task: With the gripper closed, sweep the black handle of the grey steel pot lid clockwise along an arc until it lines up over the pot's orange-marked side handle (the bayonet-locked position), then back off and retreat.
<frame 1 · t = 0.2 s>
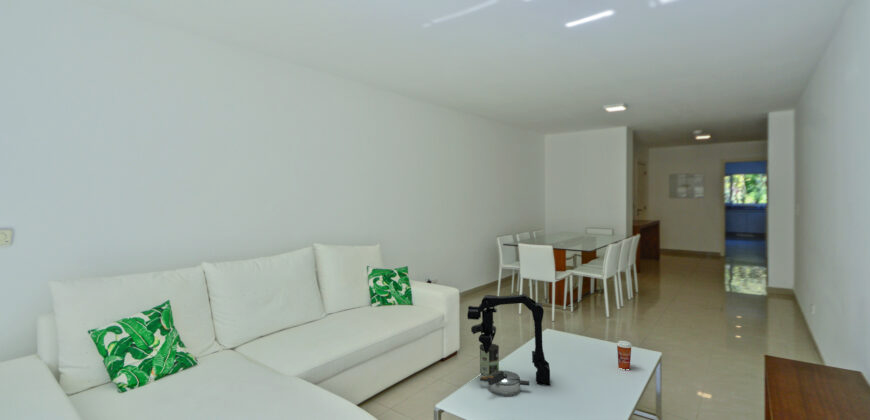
hand: (487, 350, 213), 14 cm above the table, fingers open, 9 cm apart
paper cup: (624, 368, 224), on the table
lid: (501, 375, 198), point 8 cm above the table, hinge at 60.0°
pot: (504, 389, 200), on the table
coffee can: (489, 372, 220), on the table
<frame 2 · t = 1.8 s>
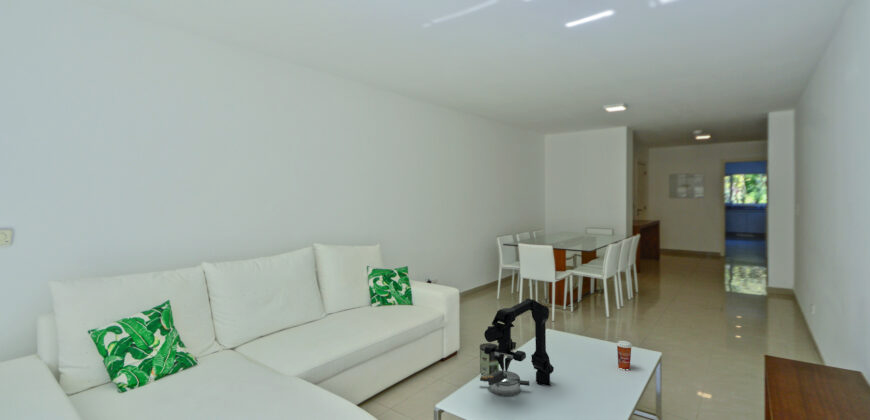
hand: (504, 370, 190), 13 cm above the table, fingers closed
nothing on the table moved.
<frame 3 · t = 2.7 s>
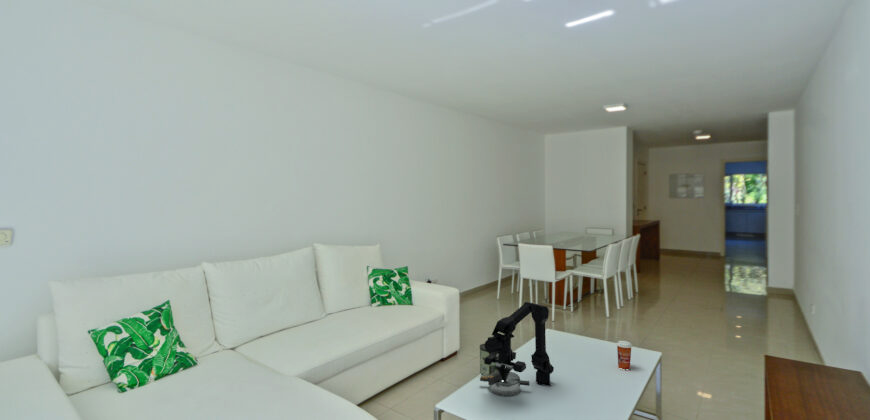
hand: (504, 381, 190), 8 cm above the table, fingers closed
nothing on the table moved.
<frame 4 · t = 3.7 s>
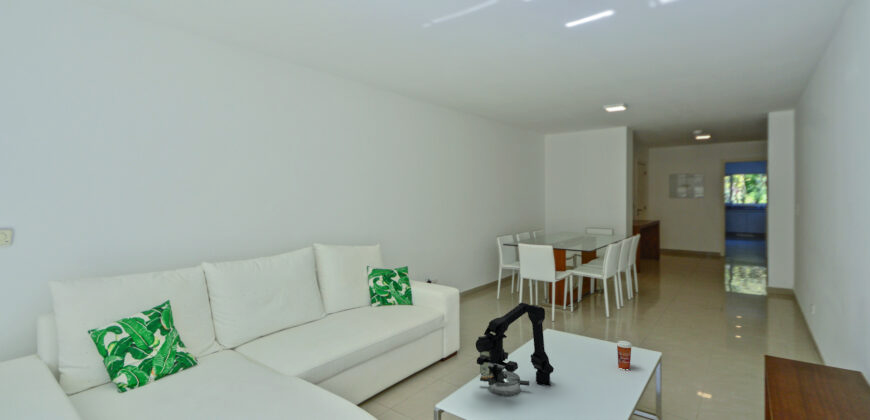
hand: (497, 381, 192), 8 cm above the table, fingers closed
lid: (501, 375, 198), point 8 cm above the table, hinge at 60.0°, touching gripper
everything else where it was.
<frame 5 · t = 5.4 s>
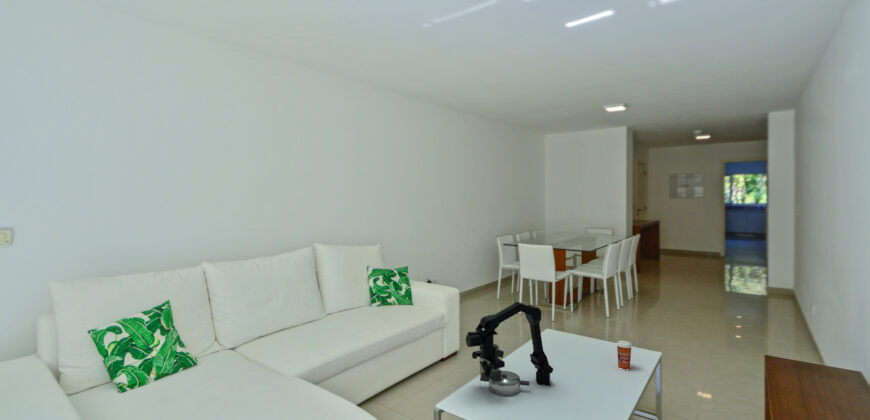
hand: (488, 377, 196), 8 cm above the table, fingers closed
lid: (500, 374, 199), point 8 cm above the table, hinge at 26.2°, touching gripper
everything else where it was.
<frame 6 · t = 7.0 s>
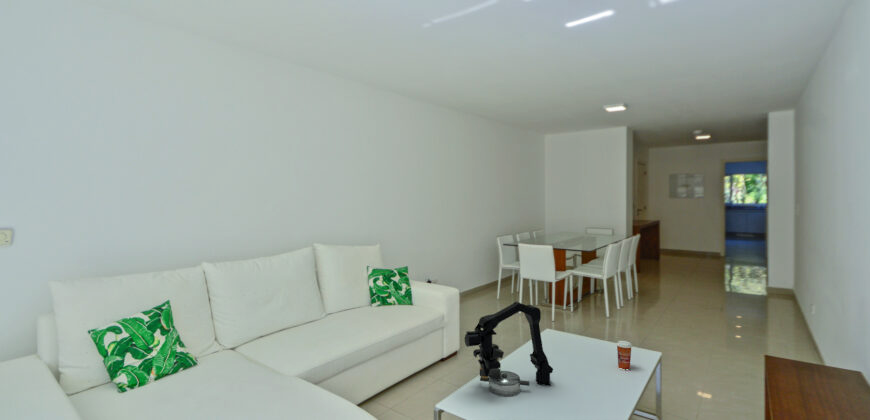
hand: (486, 376, 197), 8 cm above the table, fingers closed
lid: (499, 373, 200), point 8 cm above the table, hinge at 5.1°
everything else where it was.
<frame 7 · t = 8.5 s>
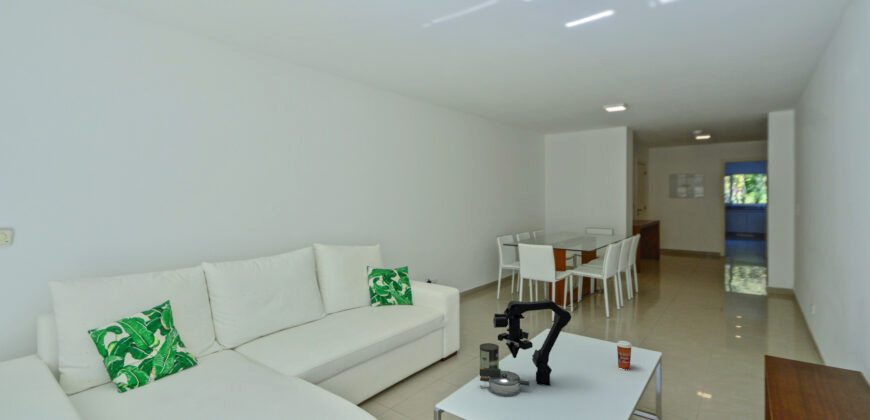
hand: (514, 357, 206), 13 cm above the table, fingers closed
nothing on the table moved.
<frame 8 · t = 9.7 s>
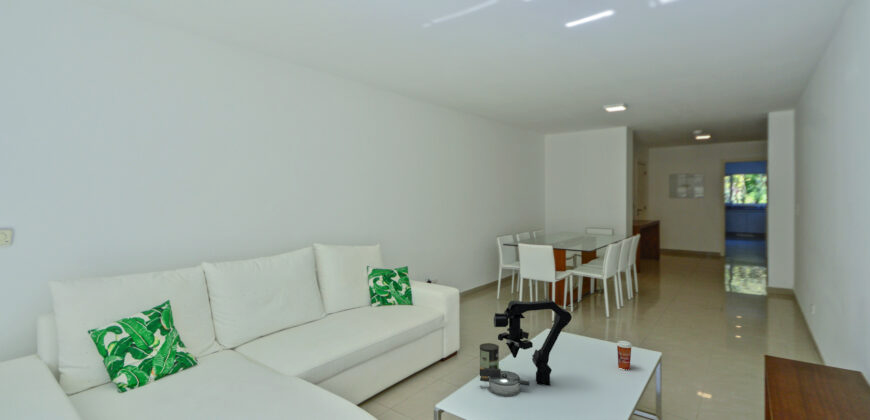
hand: (514, 357, 206), 13 cm above the table, fingers closed
nothing on the table moved.
at the end: lid at +5° (first picture: +60°) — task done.
